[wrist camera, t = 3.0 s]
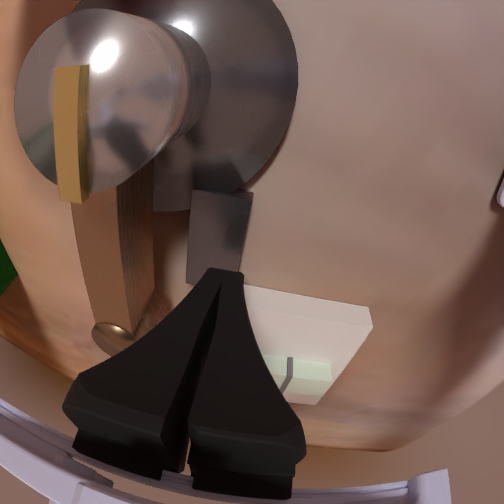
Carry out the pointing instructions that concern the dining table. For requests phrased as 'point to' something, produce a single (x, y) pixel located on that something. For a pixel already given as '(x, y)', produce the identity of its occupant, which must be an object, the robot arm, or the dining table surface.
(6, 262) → the milk carton
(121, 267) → the round-headed metal tool
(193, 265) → the dial base
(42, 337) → the dining table surface
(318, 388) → the stand board
